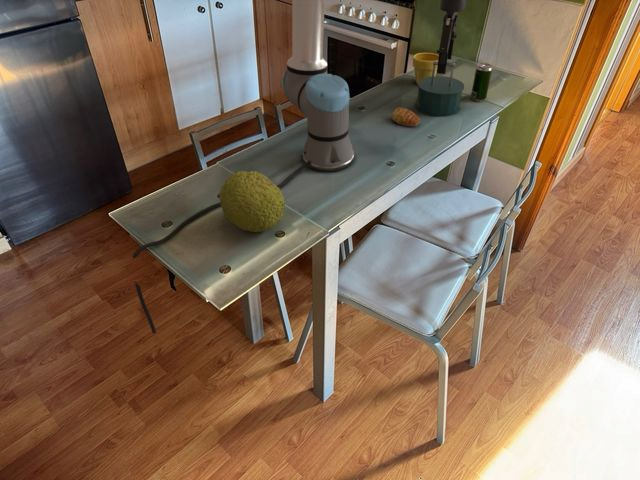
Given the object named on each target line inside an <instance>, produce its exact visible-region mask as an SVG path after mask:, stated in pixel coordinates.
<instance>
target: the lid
mask: <svg viewBox="0 0 640 480" xmlns="http://www.w3.org/2000/svg"><path fill="white" fill-rule="evenodd" d="M436 65H438V61H433V72H432V77H426V78H423V79H421V80H420V81H419V82H418V84H417V87H418V89H420V90H422V91H424V92H426V93H429V94H434V95H454V94H457V93H460V92H462V93H463V91H464V89H465V84H464V83H463V81H461V80H460V79H458V78H455V77H453V75H454V70H455V66H456V63H455V62H450V61H449V62H448V61H447V65H446V67H451V68H450V69H451V70H450V75H449V76H444V75H436V76H434V75H435V67H436Z"/></svg>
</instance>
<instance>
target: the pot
mask: <svg viewBox="0 0 640 480" xmlns="http://www.w3.org/2000/svg"><path fill="white" fill-rule="evenodd" d="M462 94H463V91H462V92H460V93H457V94H454V95H434V94H429V93H426V92H424V91H422V90H420V89H419V88H418V91H417V100H416V108H417V110H418V111H419V112H421V113H423V114H425V115H428V116H434V117H446V116H451V115H454V114H456V113H458V111H459V110H460V106H461V101H462Z"/></svg>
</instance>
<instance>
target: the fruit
mask: <svg viewBox="0 0 640 480" xmlns="http://www.w3.org/2000/svg"><path fill="white" fill-rule="evenodd" d="M277 186H278V185H276V184H275V183H274V182H273V181H272V180H271V179H270V178H269V177H268V176H266V175H265V174H263V173H261V172H259V171H255V170H251V171H246V170H241V171H240V170H239V171H235V172H234V173H232V174H231V175H229V176H228V177H227V178H226V179H225V180H224V184H222V186H221V188H220V192H219V202H220V205H221V206H220V208H221V211H222V213H223V215H224V217H225V218H226V220H228V221H229V222H230V223H232V224H233V225H234V226H236V227H238V228H239V229H241V230H243V231H245V232H246V231H247V232H249V233H250V232H251V233H261V232H266V231H268V230H270V229H271V228H273V227H274V228H275V226H276V225H277V224H278V223H279V222H280V221H281V219H282V218H283V215H284V209H285V206H286V204H285V197H284V195H283V194H282V191H281V188H279V187H277Z"/></svg>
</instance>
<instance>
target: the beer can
mask: <svg viewBox="0 0 640 480" xmlns="http://www.w3.org/2000/svg"><path fill="white" fill-rule="evenodd" d="M492 72H493V65H492V64H491V63H488V62H479V63H477V65H476V67H475V71H474V78H473V82H472V88H471V93H470V99H471V100H472V101H474V102H478V103H479V102H480V103H481V102H484V101H486V99H487V96H488V92H489V86H490V81H491V78H492Z"/></svg>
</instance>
